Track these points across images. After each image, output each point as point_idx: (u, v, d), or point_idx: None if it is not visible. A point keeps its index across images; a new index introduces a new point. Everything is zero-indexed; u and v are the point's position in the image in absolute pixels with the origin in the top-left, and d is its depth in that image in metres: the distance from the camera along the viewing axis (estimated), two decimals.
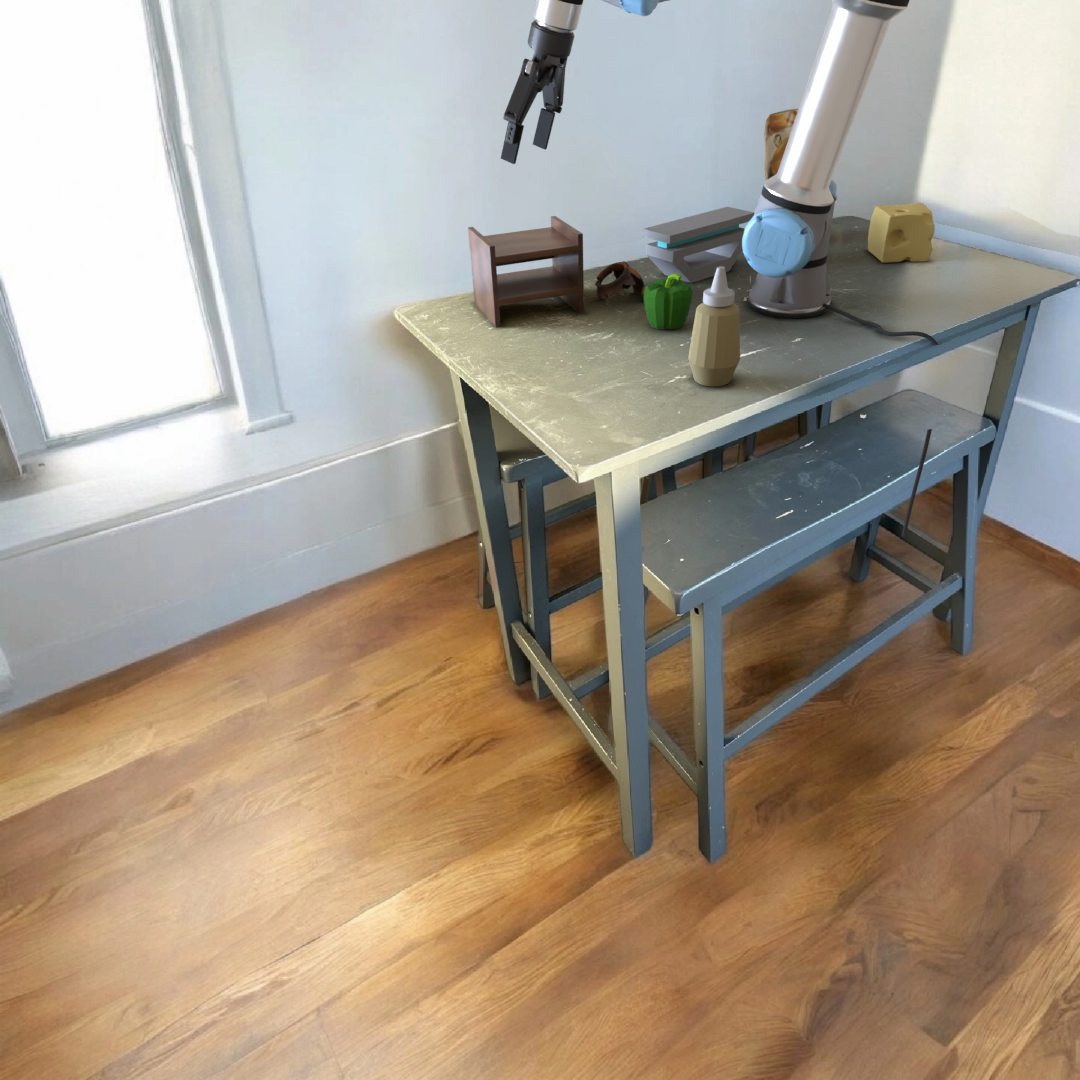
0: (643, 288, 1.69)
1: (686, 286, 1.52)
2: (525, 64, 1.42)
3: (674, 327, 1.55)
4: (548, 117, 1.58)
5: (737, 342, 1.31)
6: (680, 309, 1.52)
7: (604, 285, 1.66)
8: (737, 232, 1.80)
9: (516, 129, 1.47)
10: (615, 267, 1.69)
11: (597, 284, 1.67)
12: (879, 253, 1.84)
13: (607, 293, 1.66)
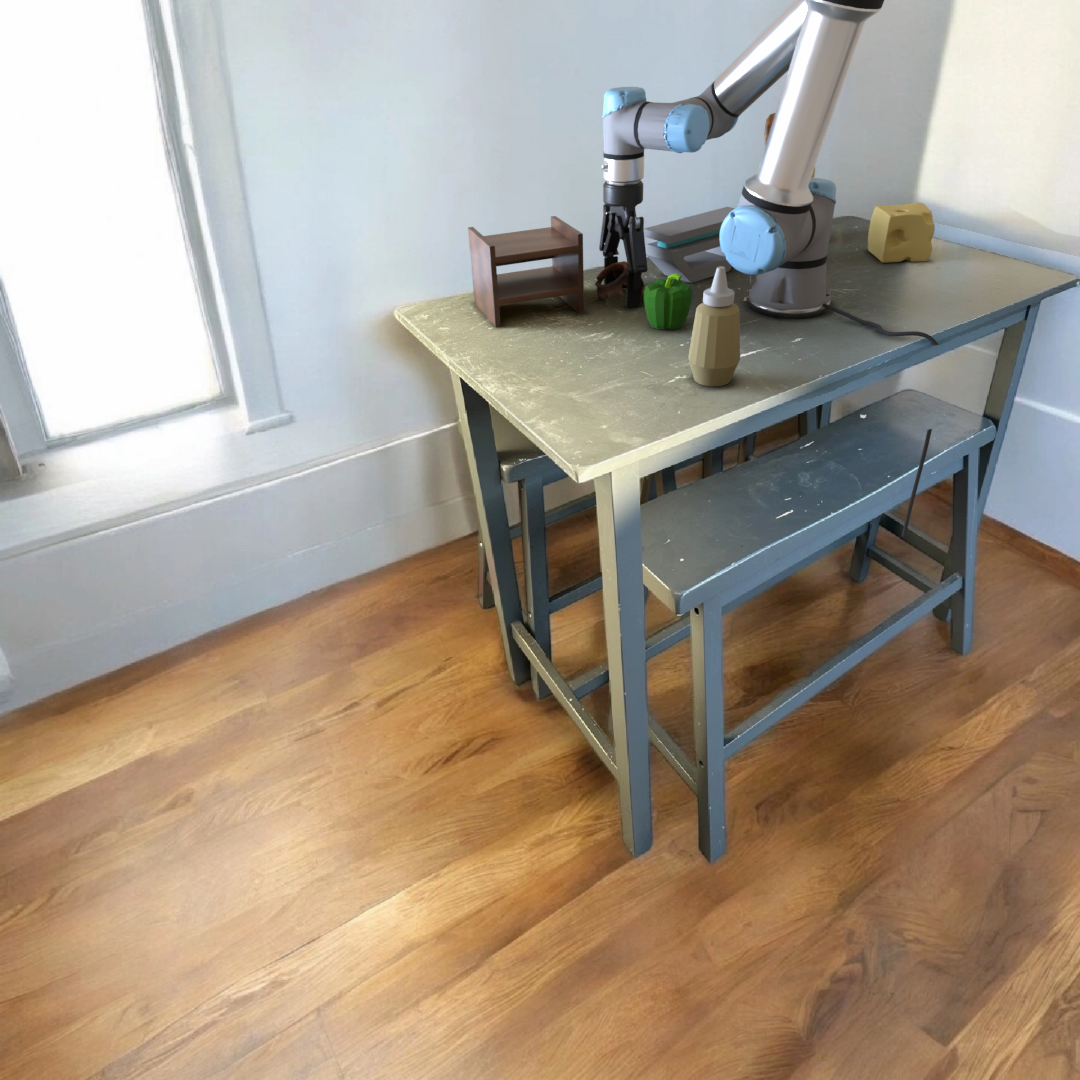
0: (643, 288, 1.69)
1: (686, 286, 1.52)
2: (634, 223, 1.57)
3: (674, 327, 1.55)
4: (614, 262, 1.73)
5: (737, 342, 1.31)
6: (680, 309, 1.52)
7: (604, 285, 1.66)
8: None
9: None
10: (615, 267, 1.69)
11: (597, 284, 1.67)
12: (879, 253, 1.84)
13: (607, 293, 1.66)
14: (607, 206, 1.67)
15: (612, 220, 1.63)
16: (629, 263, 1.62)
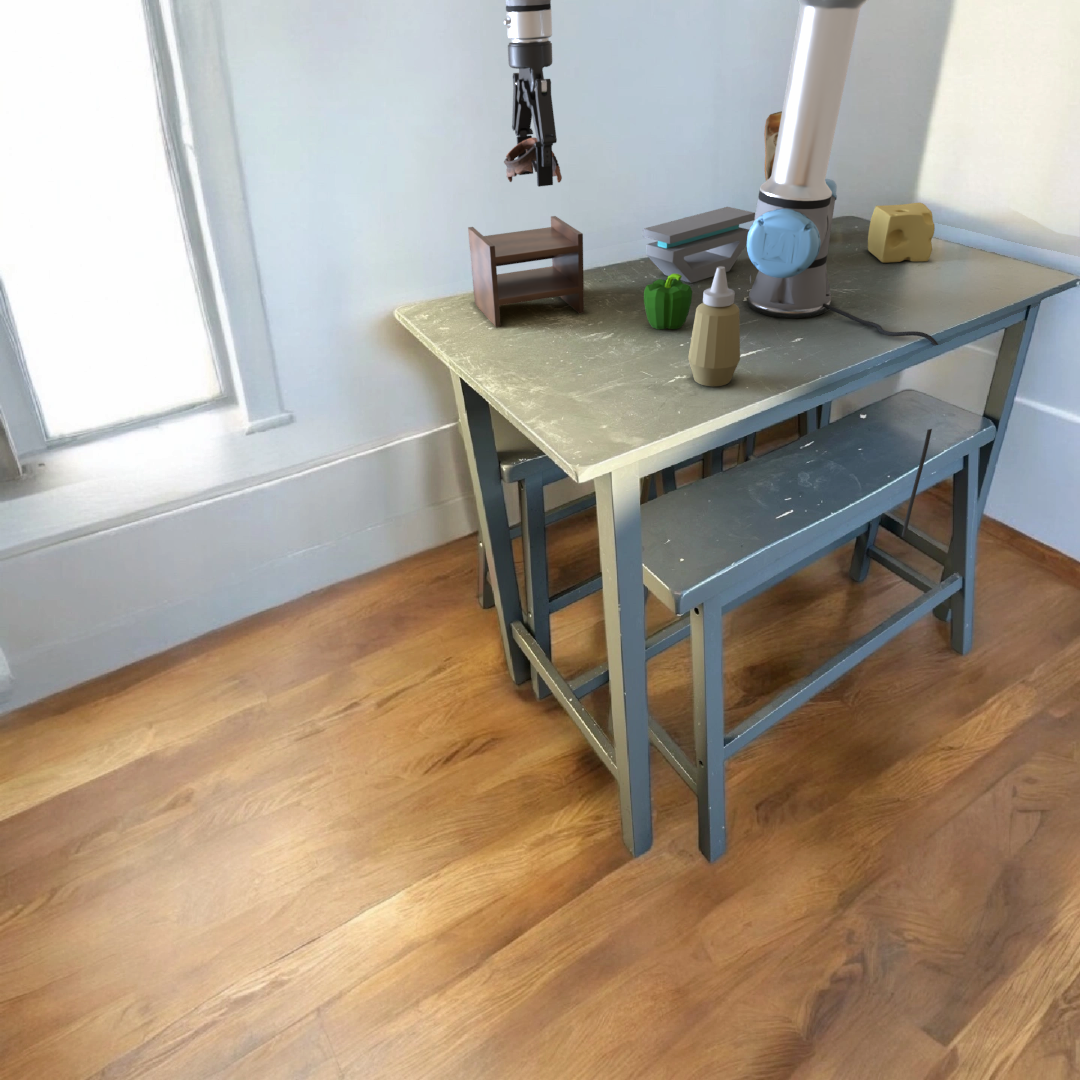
0: (557, 167, 1.53)
1: (686, 286, 1.52)
2: (540, 85, 1.42)
3: (674, 327, 1.55)
4: None
5: (737, 342, 1.31)
6: (680, 309, 1.52)
7: (512, 161, 1.50)
8: (737, 232, 1.80)
9: None
10: (526, 144, 1.54)
11: (505, 161, 1.52)
12: (879, 253, 1.84)
13: (515, 170, 1.51)
14: (516, 75, 1.51)
15: (520, 88, 1.48)
16: (537, 134, 1.47)
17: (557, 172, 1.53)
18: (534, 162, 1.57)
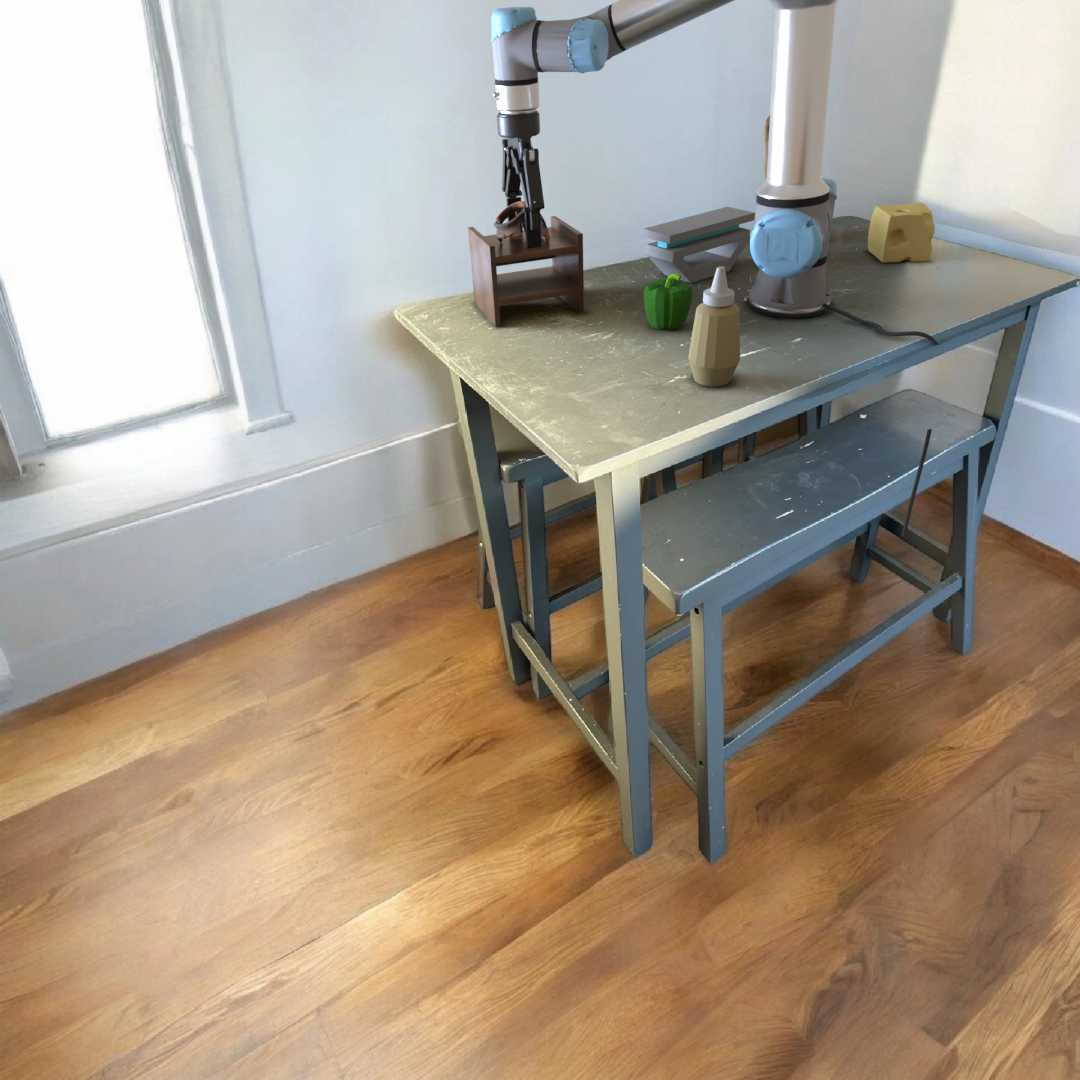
0: (545, 229, 1.59)
1: (686, 286, 1.52)
2: (528, 155, 1.47)
3: (674, 327, 1.55)
4: None
5: (737, 342, 1.31)
6: (680, 309, 1.52)
7: (502, 225, 1.56)
8: (737, 232, 1.80)
9: None
10: (515, 207, 1.59)
11: (495, 224, 1.58)
12: (879, 253, 1.84)
13: (505, 233, 1.57)
14: (506, 141, 1.57)
15: (509, 154, 1.54)
16: (526, 200, 1.52)
17: (545, 234, 1.59)
18: None
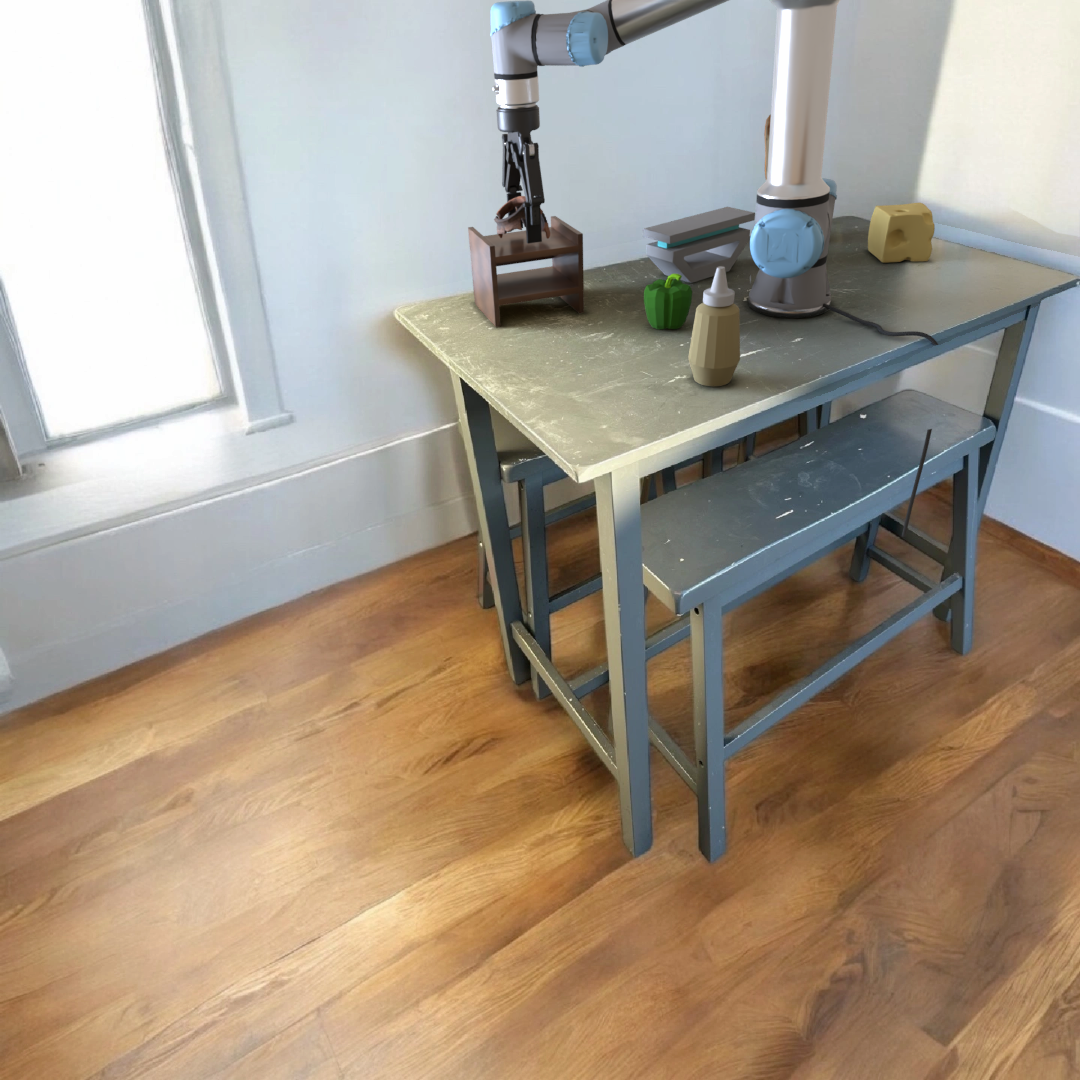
0: (545, 224, 1.58)
1: (686, 286, 1.52)
2: (528, 149, 1.47)
3: (674, 327, 1.55)
4: None
5: (737, 342, 1.31)
6: (680, 309, 1.52)
7: (502, 220, 1.55)
8: (737, 232, 1.80)
9: None
10: (516, 202, 1.59)
11: (495, 219, 1.57)
12: (879, 253, 1.84)
13: (505, 228, 1.56)
14: (506, 136, 1.56)
15: (509, 149, 1.53)
16: (526, 194, 1.52)
17: (546, 229, 1.58)
18: None
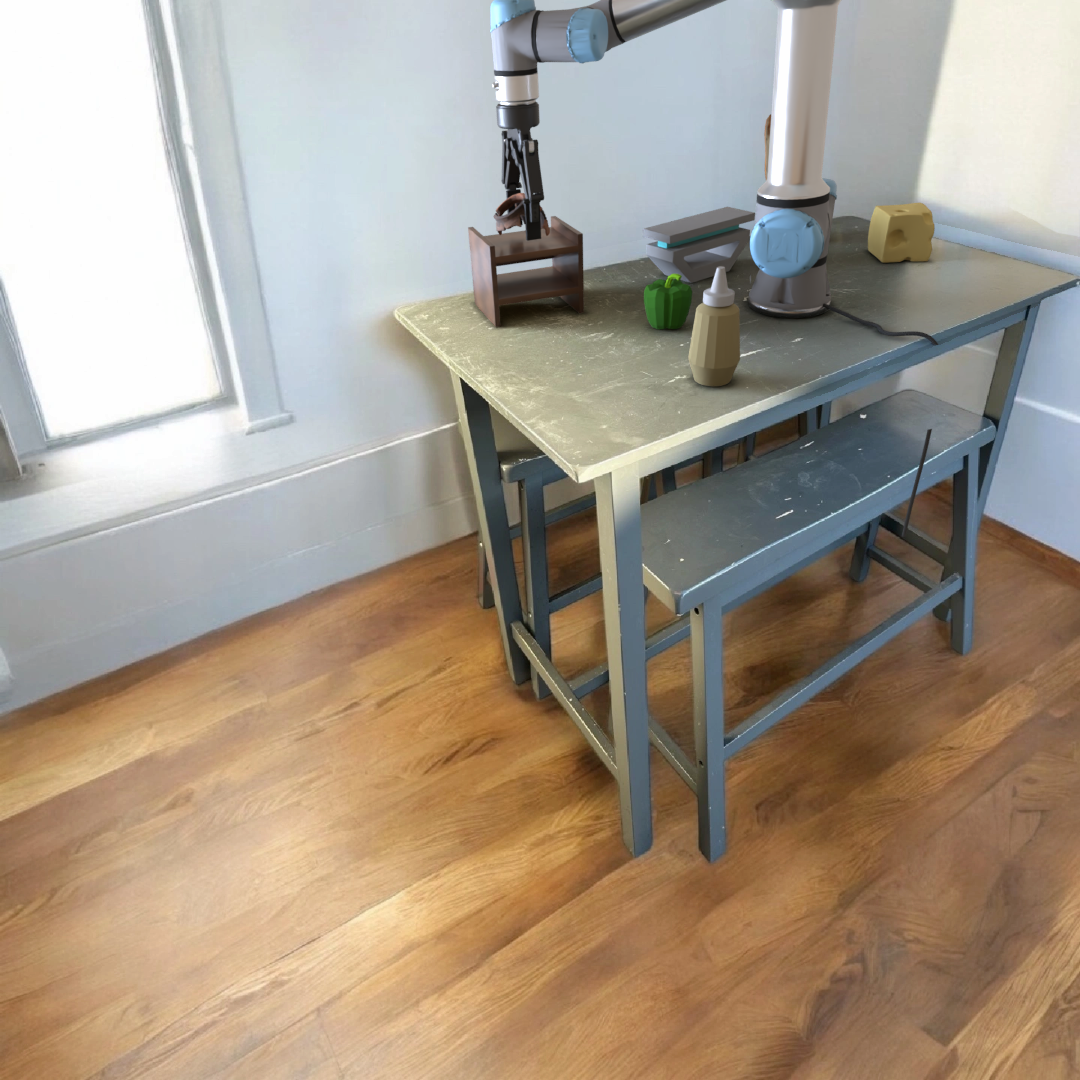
0: (545, 221, 1.58)
1: (686, 286, 1.52)
2: (527, 146, 1.47)
3: (674, 327, 1.55)
4: None
5: (737, 342, 1.31)
6: (680, 309, 1.52)
7: (501, 217, 1.55)
8: (737, 232, 1.80)
9: None
10: (515, 199, 1.58)
11: (495, 216, 1.57)
12: (879, 253, 1.84)
13: (505, 225, 1.56)
14: (505, 133, 1.56)
15: (508, 146, 1.53)
16: (525, 191, 1.51)
17: (545, 226, 1.58)
18: None
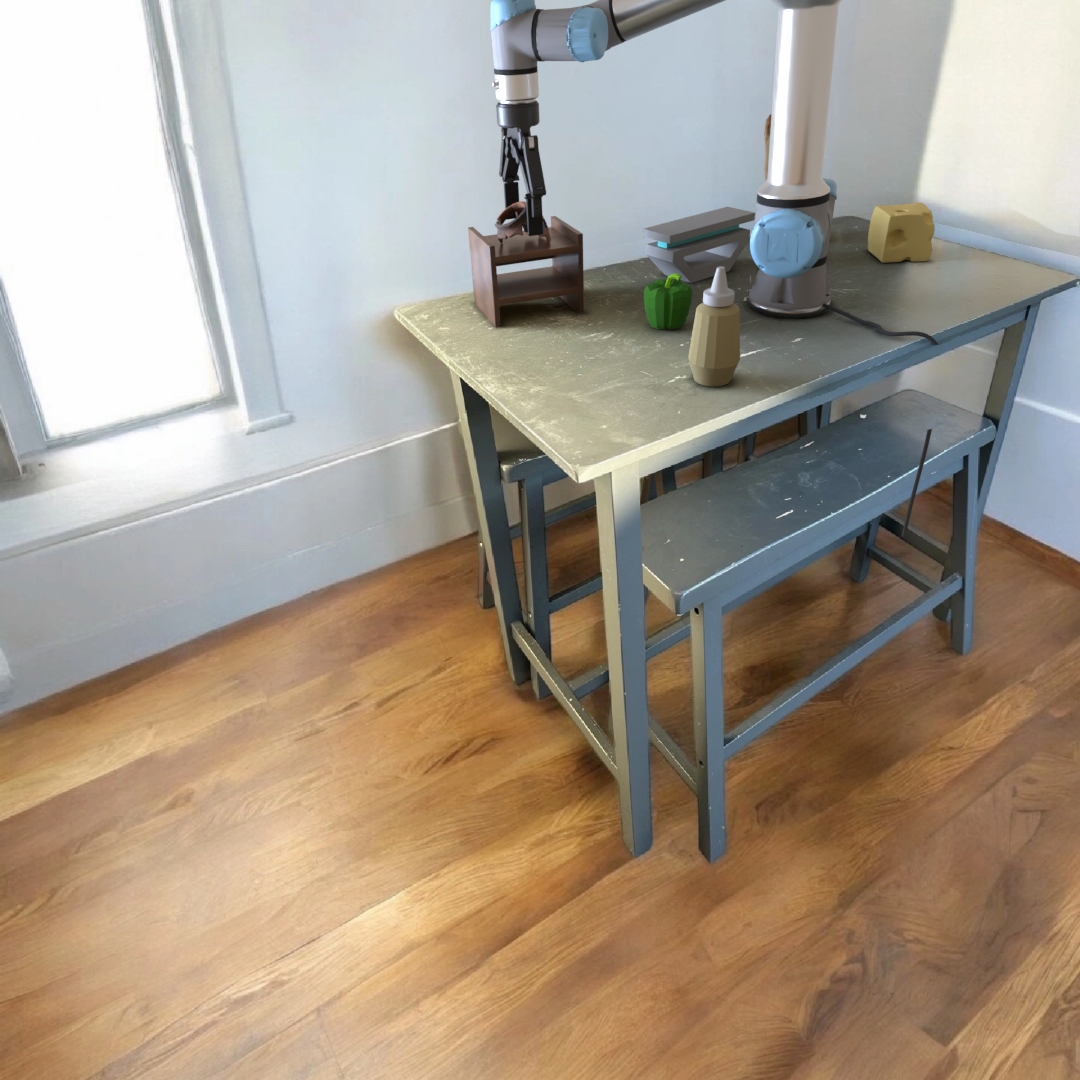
0: (546, 229, 1.59)
1: (686, 286, 1.52)
2: (527, 141, 1.46)
3: (674, 327, 1.55)
4: (514, 187, 1.62)
5: (737, 342, 1.31)
6: (680, 309, 1.52)
7: (503, 225, 1.56)
8: (737, 232, 1.80)
9: None
10: (516, 207, 1.59)
11: (496, 225, 1.57)
12: (879, 253, 1.84)
13: (506, 234, 1.56)
14: (505, 129, 1.56)
15: (508, 145, 1.53)
16: (527, 186, 1.50)
17: (546, 234, 1.58)
18: None
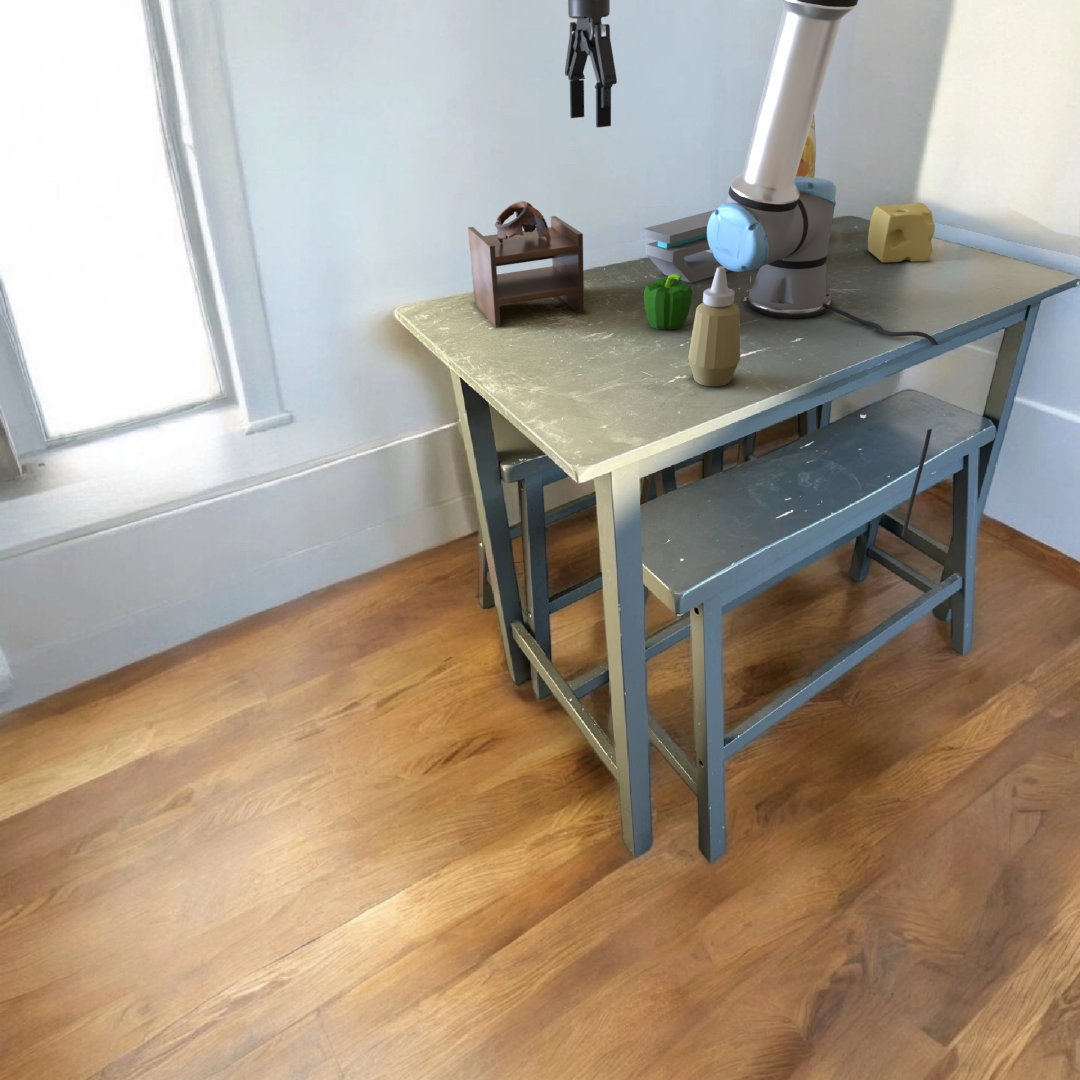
0: (546, 229, 1.59)
1: (686, 286, 1.52)
2: (599, 29, 1.51)
3: (674, 327, 1.55)
4: (579, 85, 1.67)
5: (737, 342, 1.31)
6: (680, 309, 1.52)
7: (503, 225, 1.56)
8: None
9: None
10: (516, 207, 1.59)
11: (496, 225, 1.57)
12: (879, 253, 1.84)
13: (507, 234, 1.56)
14: (574, 24, 1.60)
15: (578, 38, 1.58)
16: (597, 76, 1.55)
17: (546, 234, 1.58)
18: None
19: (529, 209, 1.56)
